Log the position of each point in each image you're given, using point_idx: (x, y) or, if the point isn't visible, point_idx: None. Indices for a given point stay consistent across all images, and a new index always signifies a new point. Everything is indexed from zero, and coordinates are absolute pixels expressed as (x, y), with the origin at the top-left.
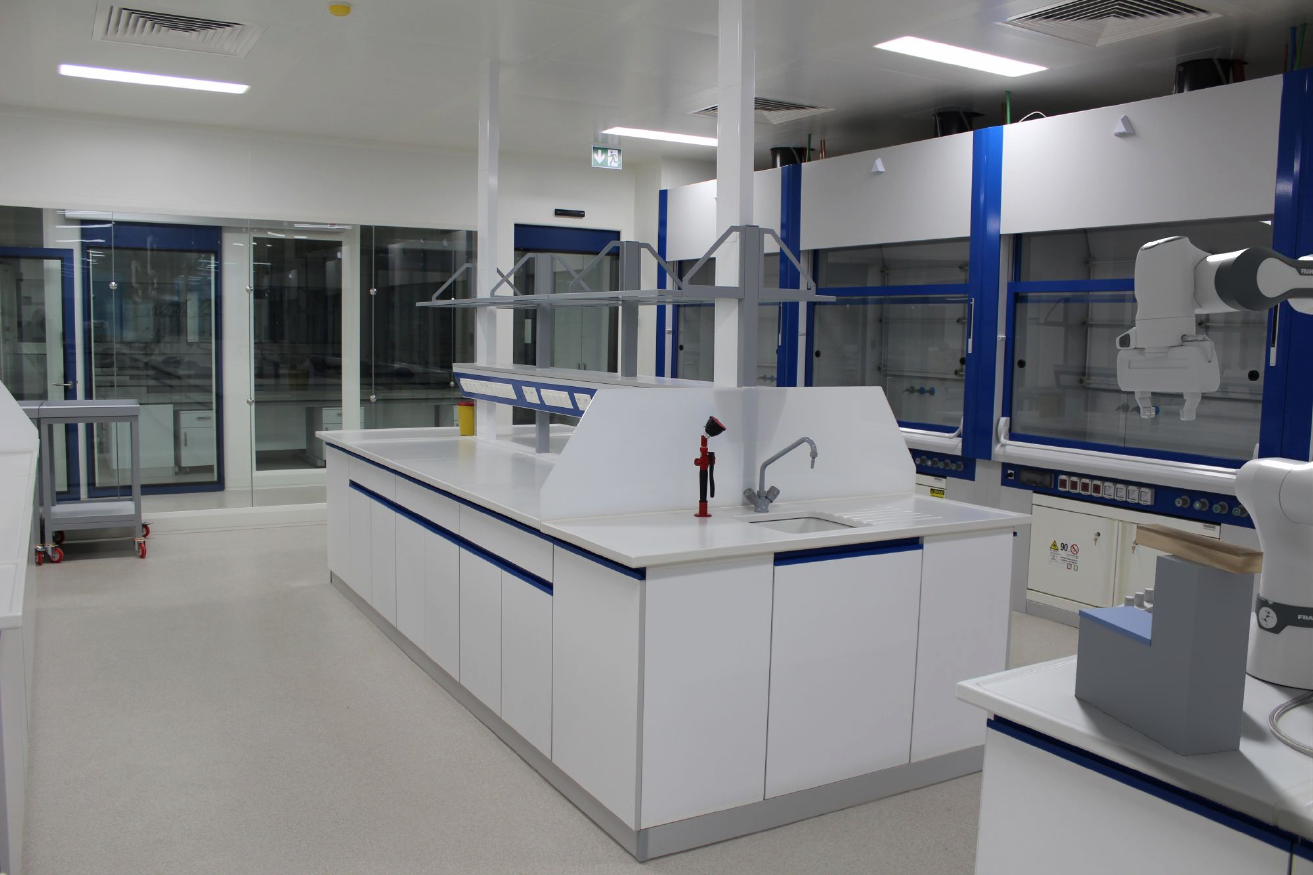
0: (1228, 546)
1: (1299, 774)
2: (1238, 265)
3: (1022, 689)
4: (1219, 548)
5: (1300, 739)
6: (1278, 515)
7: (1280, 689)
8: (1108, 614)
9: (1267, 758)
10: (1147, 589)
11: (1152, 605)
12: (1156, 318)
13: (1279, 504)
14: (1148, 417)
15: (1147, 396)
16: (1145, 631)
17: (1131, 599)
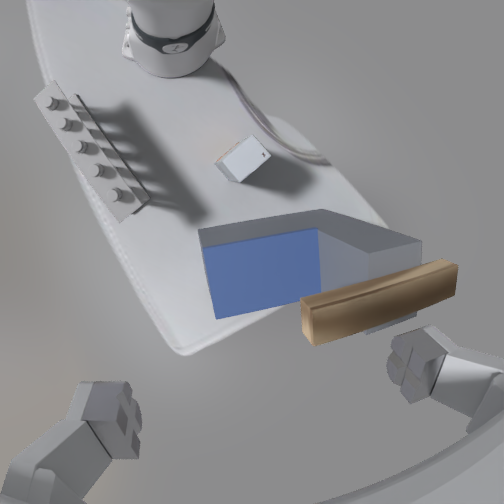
0: (436, 289)
1: (358, 195)
2: None
3: (190, 318)
4: (435, 302)
5: (311, 145)
6: None
7: (206, 74)
8: (236, 295)
9: (336, 198)
10: (78, 149)
11: (103, 154)
12: None
13: None
14: (138, 408)
15: (71, 490)
16: (299, 286)
17: (117, 196)
